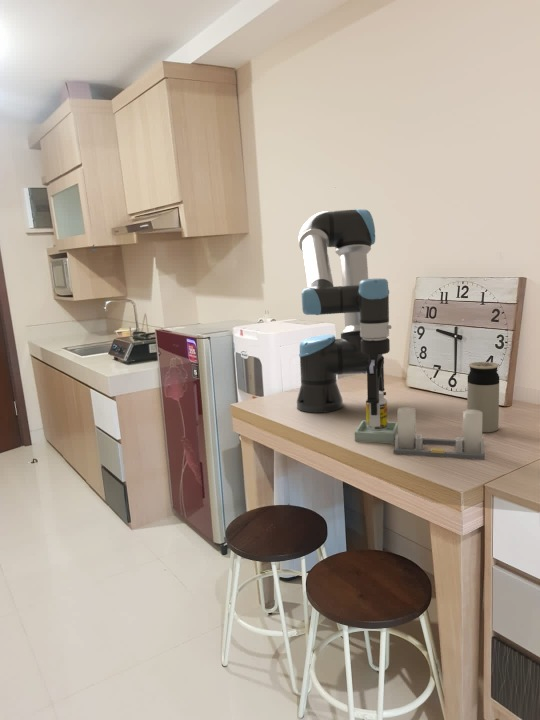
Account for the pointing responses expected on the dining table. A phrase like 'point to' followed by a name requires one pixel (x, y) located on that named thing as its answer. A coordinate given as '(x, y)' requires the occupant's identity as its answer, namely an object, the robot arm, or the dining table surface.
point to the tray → (376, 433)
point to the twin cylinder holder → (410, 441)
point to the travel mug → (484, 393)
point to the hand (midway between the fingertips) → (376, 422)
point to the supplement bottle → (382, 414)
